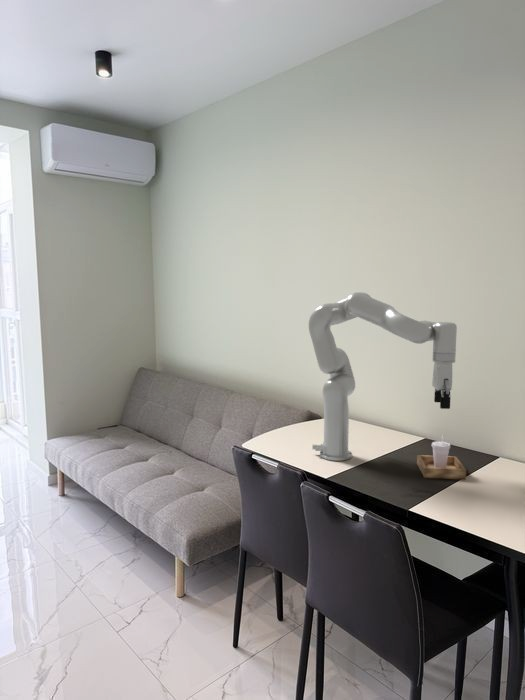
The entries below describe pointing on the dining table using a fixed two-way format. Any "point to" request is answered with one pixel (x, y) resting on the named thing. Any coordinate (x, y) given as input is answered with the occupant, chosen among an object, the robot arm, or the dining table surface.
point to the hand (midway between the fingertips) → (441, 405)
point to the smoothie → (440, 453)
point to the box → (450, 472)
